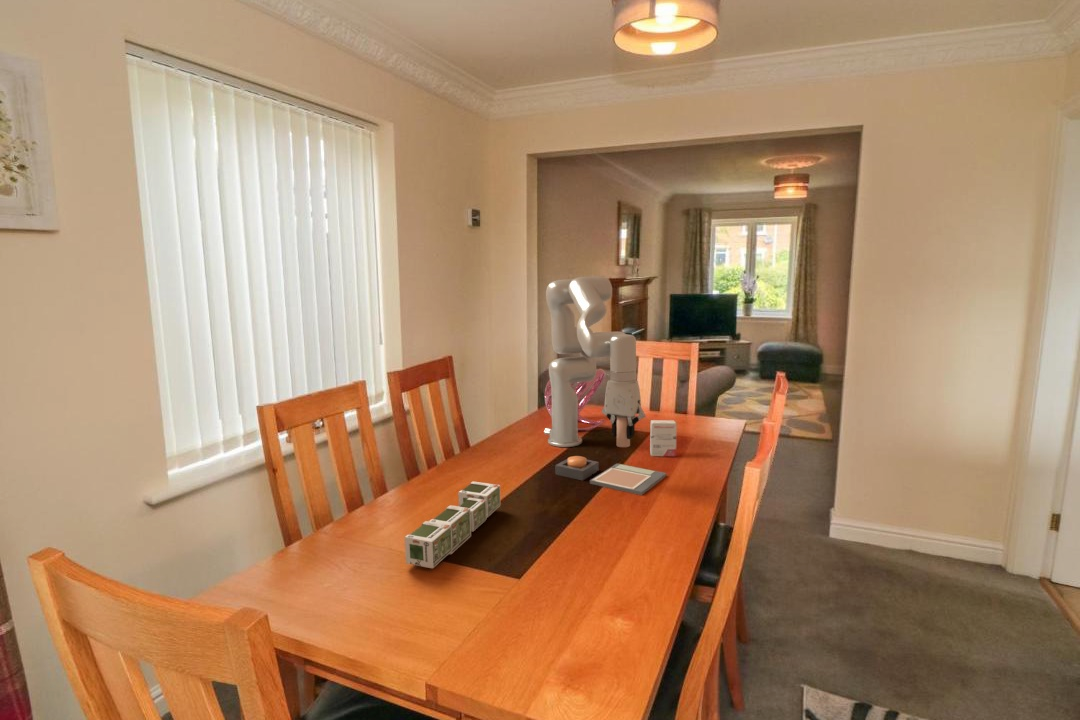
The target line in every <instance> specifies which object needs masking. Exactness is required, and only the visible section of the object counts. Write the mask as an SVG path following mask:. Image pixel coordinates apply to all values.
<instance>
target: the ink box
mask: <svg viewBox="0 0 1080 720" xmlns="http://www.w3.org/2000/svg"><path fill="white" fill-rule="evenodd" d="M677 427H678V425H677V421H675V420H673V419H672V420H669V419H668V420H667V419H666V420H664V419H663V420H661V419H659V420H657V419H653V420H652V419H651V420H650V429H649V430H650V436H649V440H650V441H649V452H650V457H677Z"/></svg>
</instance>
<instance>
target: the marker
mask: <svg viewBox="0 0 1080 720" xmlns="http://www.w3.org/2000/svg"><path fill="white" fill-rule="evenodd" d="M628 425H629V423H628V418H627V416H620V415H616V446H617V447H619V448H628V447H630V446H631V439H627V426H628Z"/></svg>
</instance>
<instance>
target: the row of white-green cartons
mask: <svg viewBox="0 0 1080 720" xmlns="http://www.w3.org/2000/svg"><path fill="white" fill-rule="evenodd" d="M457 495H458V505H451V504H450V505H449V506H447V507H446V508H445V509H444V510H443V511H442V512H441V513H440V514H438V515H437V516H435V517H434V518H432V519H430V520H428V521H427V520H425V521H424V522H422V523H421V525H420V526H419V527H418V528H416V529H415V530H414V531H412V532H411V533H409V534H407V535H406V536H404V548H405V549H404V551H405V563H406V564H409V565H413V566H417V567H423V568H427V569H428V568H429V569H434V568H435V567H437V565H438V564H439V563H440V562H441V561H443V560H444V559H445V558H446V557H447V556H449V555H452V554H453V553H454V552H455V551H457V550H458V548H460V547H461V546H462V545H463V544H464V543H465V542H466V541H468V540H469V539H470V538H471V537H472V532H474V531H476V529H478V528H479V527H480V526H481V525H482V524H483V523H485V522H486V520H488V519H487V518H489V517H490V516H491V515H492V514H493V513H494V512H495V511H496V510H498V509H499V508H500V507H501V504H502V503H501V485H500V484H496V483H487V482H479V481H473V480H472V482H470V484H469V485H467V486H466V487H464V488H463V489H461V490H460V491H458V494H457Z"/></svg>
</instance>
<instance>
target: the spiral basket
mask: <svg viewBox="0 0 1080 720" xmlns="http://www.w3.org/2000/svg"><path fill="white" fill-rule="evenodd" d="M605 376H606V371H605V370H603V369H602V368H599V369H596V375H595V378H594V379H593V380H592V381H589V382H582V383H577V385H576V387H575V388H573V389H574V390H575V391H576V393H577V397H578V402H579V401H580V402H579V403H578V422H581V423H583V424H587V423H588V424H587V425H592V426H589V427H582V428H581V427H578V432H583V431H584V432H585V431H589V430H592V429H595V428H598V427H599V426H601V425H602V424H603V423H604V422H605V421H606V420H605V419H601V420H596V421H595V420H591V419H588V418H585V417H583V416H581V414H580V413H581V412H582V411H583V409H585V407H586V406H587V405H588V403H589V402H590V401H591V399H592V398H593V397H594V395H595V394H596V392H597V391H598V389H599V387H601V385H602V383H603V381H604V379H605ZM575 384H576V383H573V384H571V386H572V387H574V385H575ZM587 391H588V392H587ZM586 392H587V393H586ZM584 395H585V396H584ZM583 396H584V397H583ZM582 397H583V399H582ZM580 399H582V400H580ZM544 403H545V407H546V409H547V412H548V413H549V415H550V417H551V418H552V393H551V382H550V379H549V380H548V381H547V383H546V385H545V388H544Z"/></svg>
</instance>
